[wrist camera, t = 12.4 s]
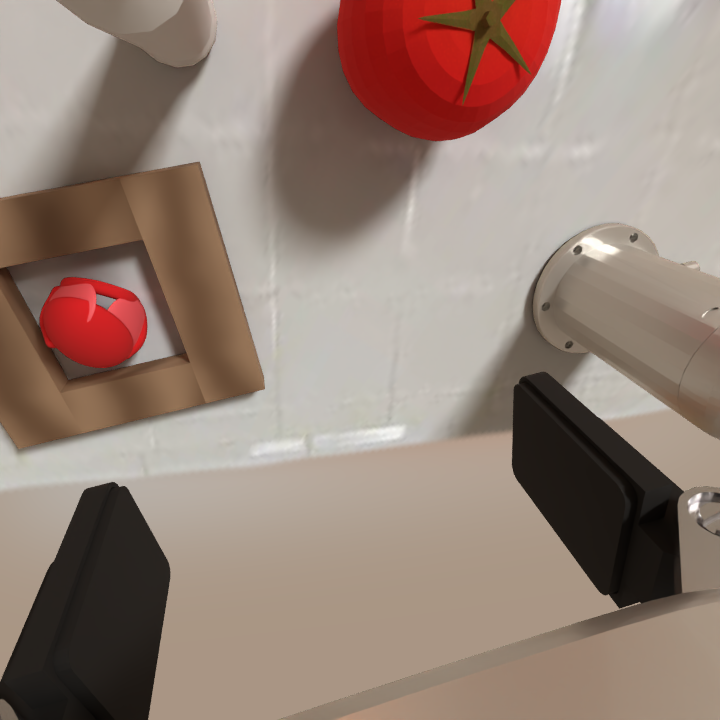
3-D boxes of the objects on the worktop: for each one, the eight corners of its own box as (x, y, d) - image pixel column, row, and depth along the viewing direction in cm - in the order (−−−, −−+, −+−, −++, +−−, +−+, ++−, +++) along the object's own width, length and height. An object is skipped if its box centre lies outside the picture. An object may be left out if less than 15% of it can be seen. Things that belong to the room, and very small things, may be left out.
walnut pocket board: (199, 161, 32) (197, 164, 31) (264, 377, 41) (264, 389, 40) (-112, 218, 30) (-133, 225, 28) (28, 433, 39) (18, 448, 37)
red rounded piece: (25, 259, 30) (-1, 349, 29) (113, 275, 30) (90, 366, 29) (96, 292, 38) (77, 364, 37) (167, 305, 38) (149, 377, 37)
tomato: (358, 162, 35) (411, 187, 24) (293, -27, 29) (323, -108, 18) (509, 96, 35) (628, 91, 24) (475, -106, 29) (614, -234, 18)
